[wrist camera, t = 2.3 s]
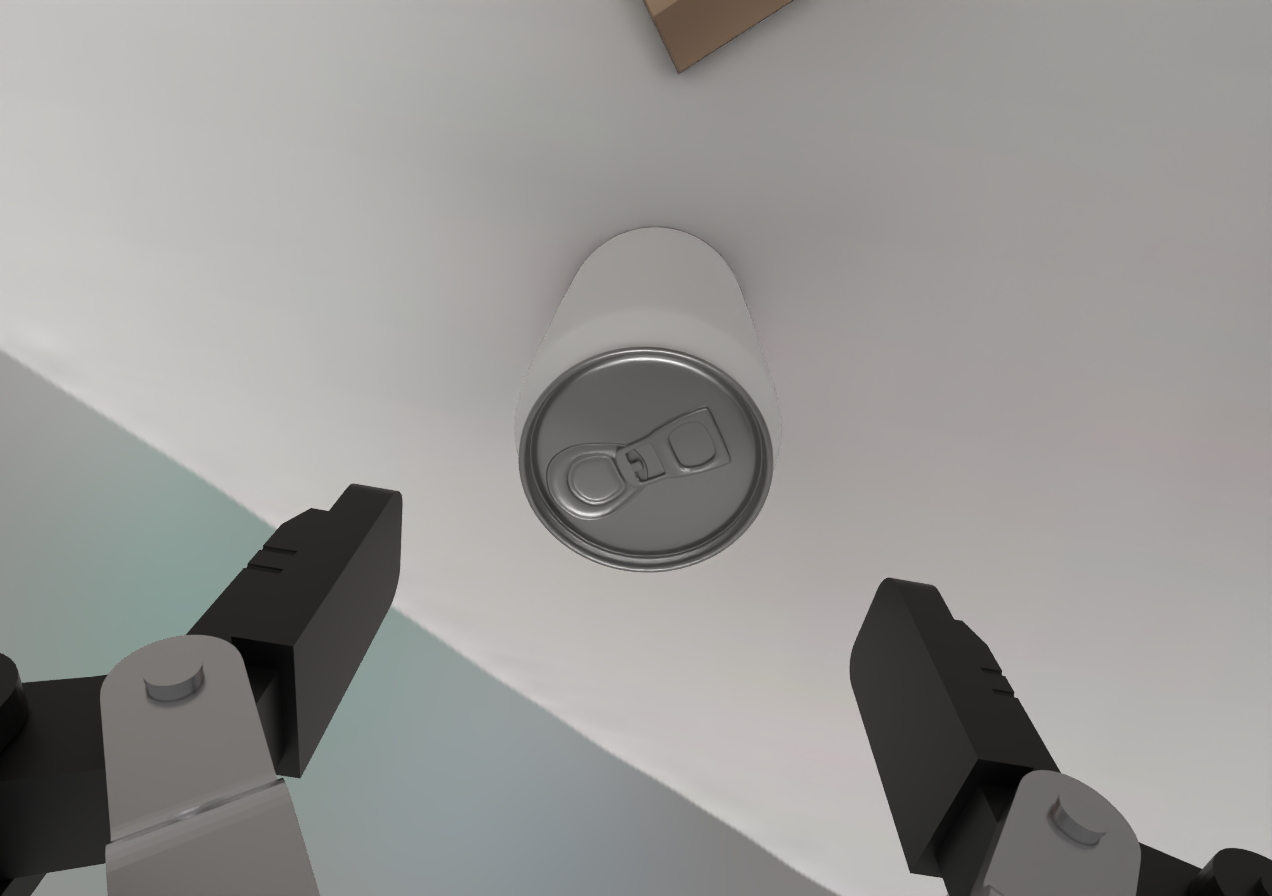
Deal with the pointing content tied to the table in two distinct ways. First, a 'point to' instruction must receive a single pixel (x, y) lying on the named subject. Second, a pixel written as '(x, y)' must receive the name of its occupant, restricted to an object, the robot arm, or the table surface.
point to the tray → (705, 24)
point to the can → (649, 408)
